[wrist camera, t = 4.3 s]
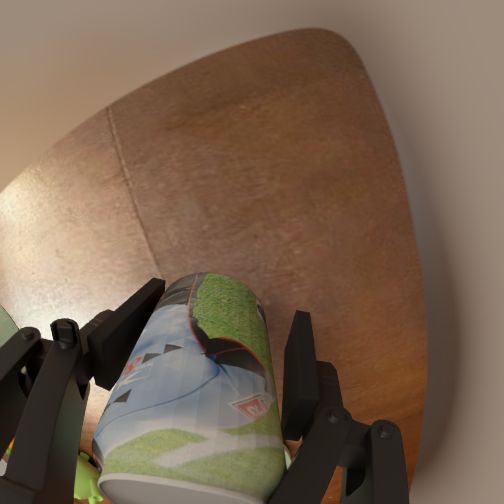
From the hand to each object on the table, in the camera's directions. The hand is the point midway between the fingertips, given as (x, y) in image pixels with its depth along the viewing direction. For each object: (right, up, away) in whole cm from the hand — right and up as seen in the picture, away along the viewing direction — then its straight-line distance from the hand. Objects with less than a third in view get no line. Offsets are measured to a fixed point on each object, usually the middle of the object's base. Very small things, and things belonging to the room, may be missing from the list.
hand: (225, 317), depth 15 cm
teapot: (-25, -30, +13) cm, 41 cm away
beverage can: (0, 0, +1) cm, 1 cm away
